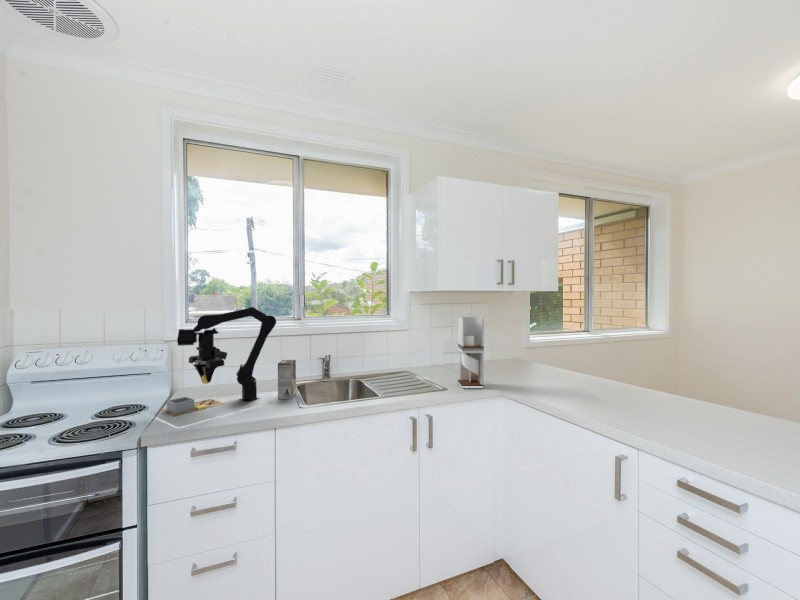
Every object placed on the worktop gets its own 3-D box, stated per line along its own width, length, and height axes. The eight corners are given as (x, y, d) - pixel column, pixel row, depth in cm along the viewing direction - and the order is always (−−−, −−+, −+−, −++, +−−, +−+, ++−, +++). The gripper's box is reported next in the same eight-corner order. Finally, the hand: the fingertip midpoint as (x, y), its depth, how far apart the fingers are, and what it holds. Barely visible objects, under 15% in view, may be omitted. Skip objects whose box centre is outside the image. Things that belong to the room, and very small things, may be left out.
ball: (213, 383, 158) (213, 374, 158) (203, 385, 155) (203, 375, 155) (208, 382, 160) (208, 372, 160) (199, 383, 157) (199, 374, 157)
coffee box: (282, 393, 175) (282, 359, 175) (296, 393, 176) (296, 359, 175) (277, 399, 166) (277, 363, 166) (292, 398, 166) (292, 363, 166)
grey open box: (194, 409, 149) (194, 399, 149) (175, 414, 143) (175, 403, 143) (185, 406, 154) (185, 396, 153) (166, 410, 148) (166, 400, 148)
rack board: (225, 405, 157) (225, 402, 157) (174, 417, 141) (174, 414, 141) (210, 400, 164) (210, 397, 164) (160, 411, 148) (160, 408, 148)
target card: (207, 407, 151) (207, 405, 151) (198, 410, 149) (198, 408, 148) (203, 406, 154) (203, 404, 154) (194, 408, 151) (194, 406, 151)
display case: (457, 383, 196) (458, 317, 195) (477, 383, 196) (478, 317, 195) (462, 389, 184) (462, 318, 183) (483, 388, 185) (483, 318, 184)
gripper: (236, 344, 158) (236, 380, 159) (213, 340, 169) (213, 375, 170) (210, 347, 149) (210, 386, 150) (188, 343, 160) (188, 379, 161)
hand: (206, 381), depth 158 cm, fingers closed on ball, 4 cm apart
